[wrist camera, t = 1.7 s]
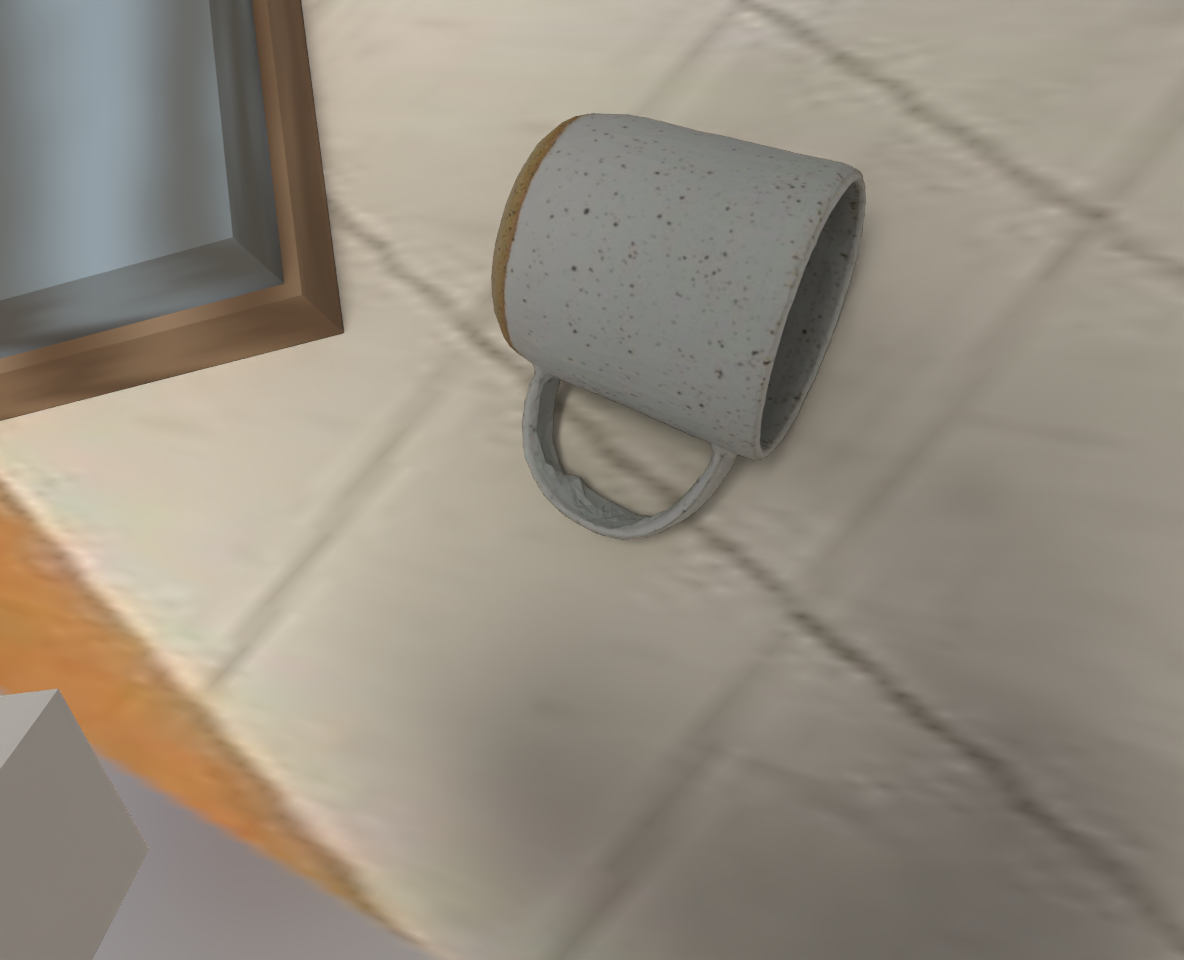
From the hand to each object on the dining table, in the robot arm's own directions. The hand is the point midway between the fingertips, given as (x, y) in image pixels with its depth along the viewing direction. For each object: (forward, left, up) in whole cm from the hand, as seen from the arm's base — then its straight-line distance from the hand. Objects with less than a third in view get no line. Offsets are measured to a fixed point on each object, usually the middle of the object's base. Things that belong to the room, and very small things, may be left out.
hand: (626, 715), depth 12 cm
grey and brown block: (+17, -22, -18) cm, 33 cm away
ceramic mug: (-1, -10, -18) cm, 21 cm away
